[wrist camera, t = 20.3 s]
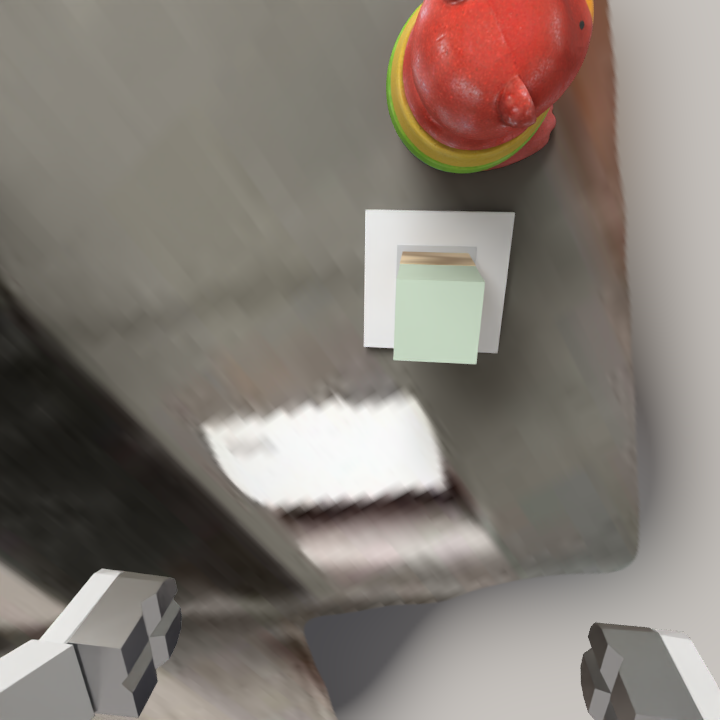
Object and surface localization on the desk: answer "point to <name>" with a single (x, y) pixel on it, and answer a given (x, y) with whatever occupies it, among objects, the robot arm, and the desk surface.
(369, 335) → the plate
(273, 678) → the desk surface
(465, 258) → the oak block
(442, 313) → the sage block
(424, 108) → the stacking bear
